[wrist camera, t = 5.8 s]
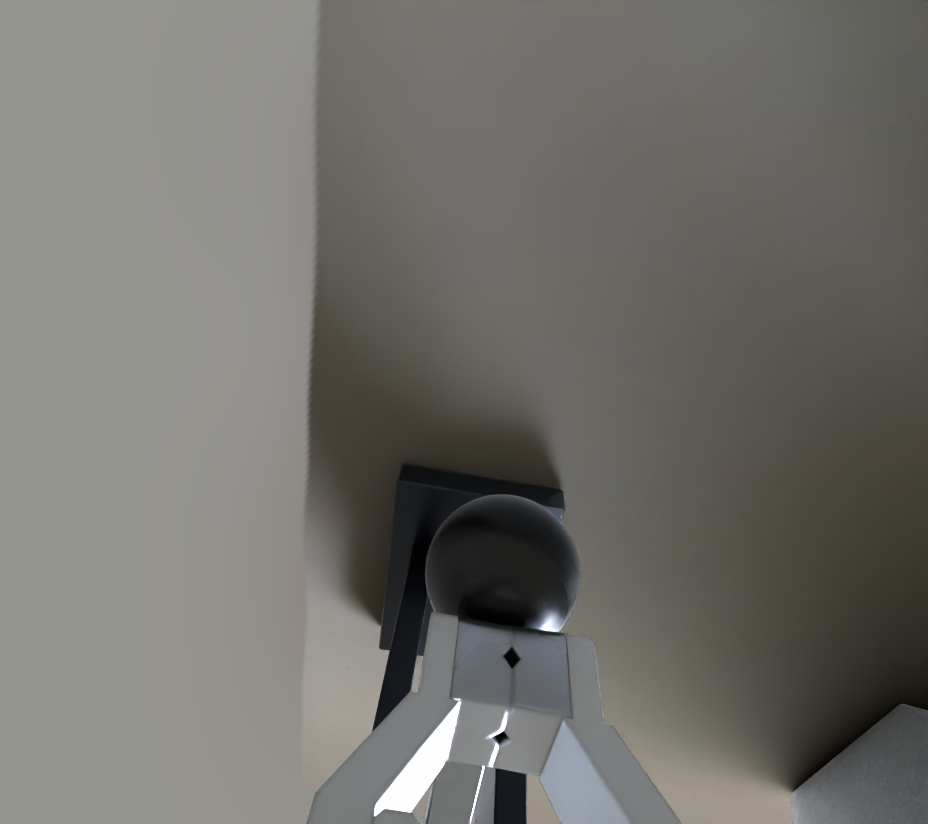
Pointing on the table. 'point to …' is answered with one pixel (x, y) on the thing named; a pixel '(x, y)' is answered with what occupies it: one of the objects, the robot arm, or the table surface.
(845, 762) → the grey hexagonal block
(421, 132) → the table surface
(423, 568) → the bracket
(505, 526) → the lever
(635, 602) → the table surface
